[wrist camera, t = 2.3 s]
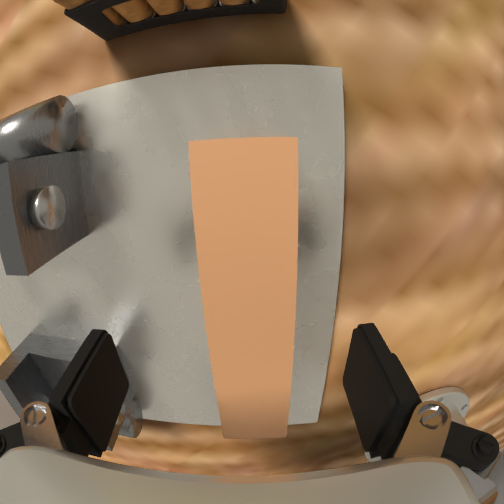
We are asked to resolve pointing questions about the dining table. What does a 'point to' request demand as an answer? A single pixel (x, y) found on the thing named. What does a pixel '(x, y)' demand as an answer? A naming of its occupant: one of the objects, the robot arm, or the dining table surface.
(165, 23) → the ammunition clip
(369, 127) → the dining table surface
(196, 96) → the plate with roller
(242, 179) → the bar
